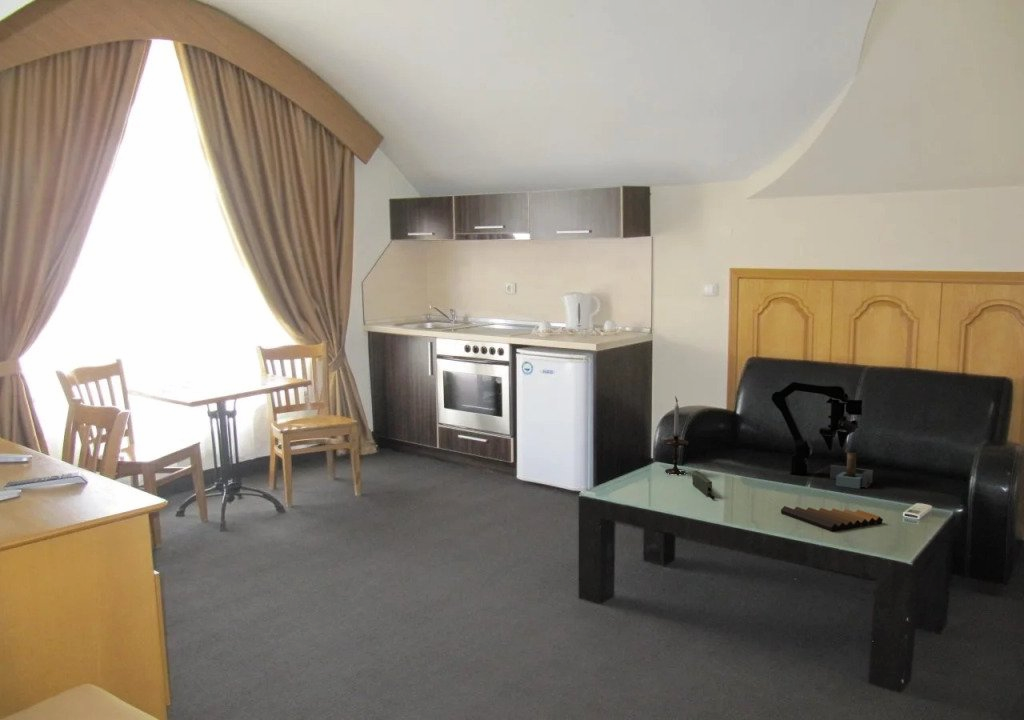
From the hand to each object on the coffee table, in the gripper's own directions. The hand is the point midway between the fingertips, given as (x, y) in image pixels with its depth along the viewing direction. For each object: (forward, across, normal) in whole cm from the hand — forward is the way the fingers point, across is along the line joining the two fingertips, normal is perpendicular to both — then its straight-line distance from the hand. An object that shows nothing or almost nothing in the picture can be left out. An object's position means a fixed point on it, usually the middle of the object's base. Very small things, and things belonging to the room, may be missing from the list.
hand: (836, 448), depth 381 cm
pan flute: (+14, -60, -34) cm, 70 cm away
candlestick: (+13, -48, +50) cm, 71 cm away
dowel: (+12, -6, -11) cm, 18 cm away
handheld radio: (+13, -66, +19) cm, 70 cm away
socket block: (+14, -6, -11) cm, 19 cm away
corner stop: (+13, -4, -9) cm, 16 cm away
